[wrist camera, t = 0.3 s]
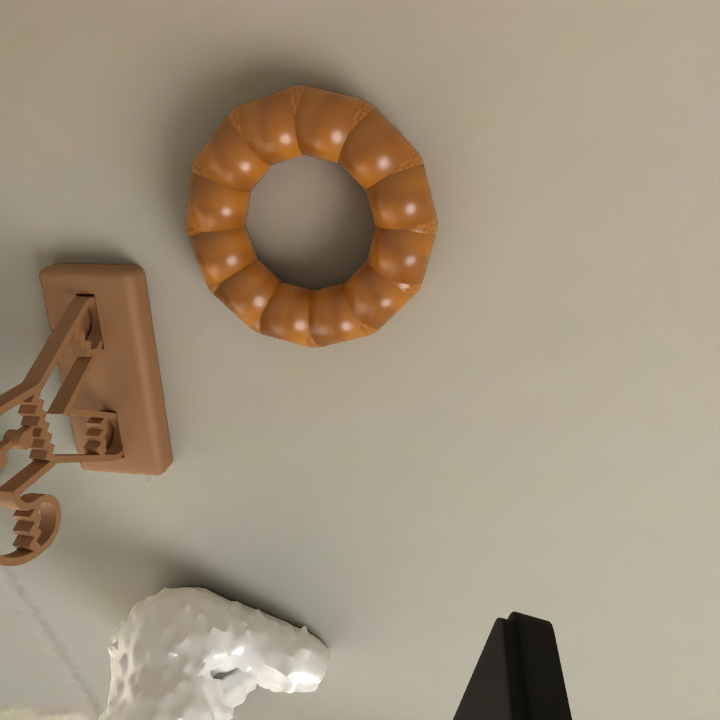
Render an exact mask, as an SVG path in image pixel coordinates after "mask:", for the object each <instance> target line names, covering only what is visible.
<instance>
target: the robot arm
mask: <svg viewBox="0 0 720 720" xmlns="http://www.w3.org/2000/svg"><path fill="white" fill-rule="evenodd" d="M453 720H572V717H571V712H570V708H569V703H568V698H567V693H566V688H565V683H564V678H563V673H562V668H561V663H560V659H559V654H558V649H557V644H556V639H555V634H554V630H553V627H552V624H551V623H550V622H549V621H546V620H542V619H539V618H535V617H532V616H528V615H525V614H521V613H518V612H512V613H511V614H510V616H509V617H508V619H503V618H497V619H496V621H495V623H494V626H493V628H492V630H491V633H490V635H489V637H488V640H487V642H486V644H485V646H484V649H483V651H482V653H481V656H480V658H479V660H478V663H477V665H476V667H475V670H474V672H473V674H472V677H471V679H470V681H469V684H468V686H467V688H466V691H465V693H464V695H463V698H462V700H461V702H460V705H459V707H458V709H457V712H456V714H455V716H454V719H453Z"/></svg>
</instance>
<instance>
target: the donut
mask: <svg viewBox="0 0 720 720" xmlns="http://www.w3.org/2000/svg"><path fill="white" fill-rule="evenodd" d="M301 155H308V156H312V157H315V158H319V159H323V160H327V161H331V162H335V163H339V164H340V165H341V166H342V167H343V168H344V169H345V170H346V171H347V172H348V173H349V174H350V175H351V176H352V177H353V178H354V179H355V180H356V181H357V182H358V183H359V184H360V185H361V186H362V187H363V188H364V189H365V191H366V194H367V198H368V201H369V205H370V208H371V212H372V215H373V219H374V222H375V230H374V234H373V238H372V243H371V247H370V251H369V255H368V259H367V260H366V261H365V262H364V263H363V265H362V266H361V267H360V268H359V269H358V270H357V271H356V272H355V273H354V274H353V275H352V276H351V277H350V278H349V279H348V280H347V281H346V282H345V283H342V284H338V285H334V286H330V287H327V288H323V289H319V290H316V291H314V290H310V289H306V288H303V287H299V286H295V285H291V284H288V283H284V282H282V281H281V280H280V279H279V278H278V277H277V276H276V275H275V274H274V273H273V272H271V271H270V270H269V269H268V268H267V267H266V266H265V265H264V264H263V263H262V262H261V261H260V260H259V259H258V258H257V255H256V253H255V250H254V247H253V244H252V241H251V239H250V236H249V233H248V230H247V227H246V221H247V214H248V207H249V200H250V194H251V190H252V189H253V188H254V187H255V185H256V184H257V183H258V182H259V181H260V179H261V178H262V177H263V176H264V174H265V173H266V172H267V171H268V169H269V168H270V167H271V166H272V165H274V164H277V163H280V162H283V161H286V160H289V159H292V158H295V157H298V156H301ZM436 231H437V216H436V212H435V208H434V204H433V200H432V196H431V192H430V188H429V184H428V180H427V176H426V172H425V168H424V164H423V161H422V158H421V156H420V154H419V153H418V151H417V150H416V149H415V148H414V147H413V146H412V145H411V144H410V142H409V141H408V140H407V139H406V138H405V137H404V136H403V135H402V134H401V133H400V132H399V131H398V130H397V129H396V128H395V127H394V126H393V125H392V124H391V123H390V122H389V121H388V120H387V119H386V118H385V117H384V116H383V115H382V114H381V113H380V112H379V111H378V110H377V109H376V108H375V107H374V106H373V105H372V104H371V103H369V102H367V101H365V100H362V99H358V98H354V97H350V96H346V95H342V94H338V93H334V92H330V91H326V90H322V89H318V88H314V87H310V86H305V85H296V86H292V87H289V88H286V89H283V90H280V91H278V92H275V93H272V94H269V95H267V96H264V97H261V98H258V99H256V100H253V101H250V102H247V103H245V104H242V105H240V106H237V107H235V108H234V109H233V110H232V111H231V112H230V113H229V114H228V115H227V116H226V118H225V119H224V120H223V122H222V123H221V124H220V126H219V127H218V128H217V130H216V131H215V132H214V134H213V135H212V136H211V138H210V139H209V141H208V142H207V143H206V145H205V146H204V147H203V149H202V150H201V151H200V153H199V154H198V155H197V157H196V158H195V160H194V162H193V165H192V169H191V177H190V186H189V195H188V205H187V214H186V232H187V236H188V239H189V241H190V244H191V246H192V249H193V251H194V254H195V256H196V259H197V261H198V264H199V267H200V269H201V272H202V274H203V277H204V279H205V282H206V284H207V286H208V288H209V289H210V291H211V292H212V293H213V294H214V295H215V296H216V297H217V298H218V299H219V300H220V301H221V302H222V303H224V304H225V305H226V306H227V307H228V308H229V309H230V310H231V311H232V312H233V313H235V314H236V315H237V316H238V317H239V318H240V319H241V320H242V321H243V322H245V323H246V324H247V325H248V326H249V327H250V328H251V329H253V330H254V331H256V332H257V333H260V334H263V335H267V336H270V337H274V338H278V339H281V340H285V341H289V342H292V343H296V344H300V345H303V346H307V347H313V348H314V347H315V348H316V347H323V346H327V345H331V344H335V343H339V342H343V341H348V340H352V339H356V338H360V337H364V336H368V335H371V334H373V333H375V332H376V331H378V330H379V329H380V328H381V327H382V326H383V325H384V324H385V323H386V322H387V321H388V320H389V319H390V318H391V317H392V316H394V315H395V314H396V313H397V312H398V311H399V310H400V309H401V308H402V307H403V306H404V305H405V304H406V303H407V302H408V301H409V300H410V299H411V298H412V297H413V296H414V295H415V294H416V293H417V292H418V290H419V288H420V287H421V284H422V282H423V278H424V275H425V271H426V267H427V264H428V260H429V257H430V253H431V250H432V246H433V242H434V239H435V235H436Z"/></svg>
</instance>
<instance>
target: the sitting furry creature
mask: <svg viewBox="0 0 720 720" xmlns="http://www.w3.org/2000/svg"><path fill="white" fill-rule="evenodd" d="M111 638H112V642H113V644H112V645H111V646H109V647H108V652H109V654H110V655H111V659H110V665H111V673H112V678H111V683H110V685H109V687H110V694H109V697H108V699H107V702H108V705H107V707H106V709H105V710H104V711H103V712H102V713H101V715H100V717H99V718H98V720H231V719H232V717H233V714H234V713H233V709H234V708H235V707H236V706H238V705H240V704H242V703H243V702H244V701H245V700H246V697H247V694H248V693H250V692H251V691H253V690H254V689H255V688H256V685H257V684H258V685H259V686H261V687H262V688H270V690H271V691H273V692H281V691H284V692H287V693H289V694H290V693H293V692H294V691H296V692H315V691H316V689H317V687H318V685H319V683H320V682H321V681H322V679H323V677H324V674H325V671H326V668H327V665H328V661H329V655H330V653H329V650H328V649H327V648H326V646H325V645H324V644H323V642H322V641H321V640H319V639H318V638H316V637H315V636H313V635H312V634H310V633H309V632H308V631H307V627H306V626H303V627H302V628H301V629H300V628H298V627H295V626H293V625H291V624H289V623H287V622H285V621H283V620H280V619H278V618H275V617H273V616H271V615H268V614H266V613H263V612H262V611H261V610H260V609H254V608H251V607H249V606H246V605H244V604H242V603H240V602H238V601H230V600H228V599H226V598H224V597H222V596H220V595H218V594H216V593H214V592H212V591H210V590H208V589H206V588H200V587H195V588H191V587H183V588H172V589H169V588H166V587H165V588H163V589H162V590H161V591H160V592H158V593H157V594H156V595H150V596H149V597H147V598H146V599H143V600H138V602H137V603H136V604H135V605H134V606H133V607H132V609H131V611H130V612H129V614H128V616H127V618H126V619H125V620H123V621H122V622H121V624H120V629H119V630H118V631H117V632H116V633H115V634H114V635H113V636H112V637H111Z"/></svg>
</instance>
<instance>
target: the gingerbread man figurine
mask: <svg viewBox="0 0 720 720" xmlns="http://www.w3.org/2000/svg"><path fill="white" fill-rule="evenodd" d="M39 278H40V282H41V287H42V292H43V296H44V301H45V305H46V310H47V315H48V319H49V324H50V328H51V333H52V334H51V335H50V337H49V339H48V340H47V342H46V344H45V345H44V347H43V349H42V350H41V352H40V354H39V355H38V357H37V359H36V360H35V362H34V364H33V365H32V367H31V369H30V371H29V372H28V374H27V376H26V377H25V379H24V381H23V382H22V383H21V384H19V385H17V386H16V387H14V388H12V389H11V390H9V391H7V392H5V393H4V394H2V395H0V415H2V414H3V413H5V412H7V411H8V410H10V409H11V408H13V407H15V406H16V405H18V404H20V408H19V411H18V414H20V415H22V416H23V419H22V422H21V425H22V427H21V428H19V429H18V430H12V429H10V430H8V431H6V433H5V434H4V436H3V440H2V441H0V469H2V468H3V467H4V466H5V464H6V462H7V453H6V452H7V451H8V450H10V449H28V448H30V449H32V450H31V453H30V456H29V458H30V459H33V460H34V461H33V462H31V463H30V464H29V465H28V466H26V467H25V468H24V469H23V470H21V471H20V472H19V473H17V474H16V475H15V476H14V477H12V478H11V479H10V480H9V481H7V482H6V483H5V484H4V485H2V486H1V487H0V505H1V506H2V507H3V508H5V509H11V510H16V511H15V513H14V515H13V516H14V517H15V518H16V519H17V520H18V522H17V524H16V526H15V527H14V529H13V531H14V532H15V533H16V534H17V535H18V536H17V538H16V540H15V541H14V543H13V546H14V547H15V548H16V549H17V550H16V551H14V552H12V553H10V554H6V555H3V556H1V555H0V565H4V566H16V565H20V564H24V563H26V562H28V561H30V560H32V559H34V558H36V557H37V556H38V555H40V554H41V553H42V552H43V551H44V550H46V549H47V548H48V547H49V545H50V544H51V543H52V542H53V540H54V538H55V536H56V534H57V532H58V529H59V525H60V520H61V510H60V505H59V502H58V501H57V499H56V498H55V497H54V496H52V495H47V494H35V493H29V494H26V495H24V496H22V497H21V498H20V494H21V493H22V492H23V491H24V490H26V489H27V488H28V487H29V486H30V485H32V484H33V483H34V482H35V481H36V480H38V479H39V478H40V477H41V476H42V475H44V474H45V473H46V472H47V471H48V470H49V469H51V468H52V467H53V466H54V465H55V464H57V463H66V462H80V465H81V467H82V468H83V469H85V470H93V471H106V472H120V473H133V474H146V475H160V474H162V473H164V472H165V471H166V469H167V468H168V467H169V466H170V465H171V464H172V461H173V458H172V451H171V445H170V438H169V431H168V425H167V418H166V411H165V404H164V398H163V391H162V384H161V378H160V371H159V364H158V358H157V351H156V344H155V337H154V331H153V324H152V317H151V311H150V304H149V297H148V291H147V284H146V277H145V272H144V270H143V269H142V268H141V267H140V266H138V265H124V264H77V263H57V264H54V265H51V266H48V267H45V268H43V269H42V270H41V271H40V274H39ZM57 362H58V365H59V370H60V374H61V379H62V383H63V384H62V386H61V388H60V390H59V391H58V393H57V395H56V397H55V399H54V401H53V403H52V404H51V406H50V408H49V410H48V412H46V411H44V410H42V407H43V404H44V400H42V399H40V398H39V396H40V393H41V390H42V388H43V386H44V385H45V383H46V381H47V379H48V377H49V376H50V374H51V372H52V370H53V369H54V367H55V365H56V363H57ZM47 413H50V414H61V415H69V416H70V420H71V425H72V429H73V434H74V439H75V443H76V448H77V452H78V454H55V455H54V454H52V452H53V449H54V446H55V445H53V444H51V443H50V440H51V437H52V434H50V433H48V432H47V430H48V427H49V424H50V423H48V422H46V421H44V420H45V417H46V414H47ZM39 508H40V513H41V516H40V515H39V514H38V513H37V512H38V510H39ZM39 522H40V524H39ZM38 524H39V527H37V526H38Z"/></svg>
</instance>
